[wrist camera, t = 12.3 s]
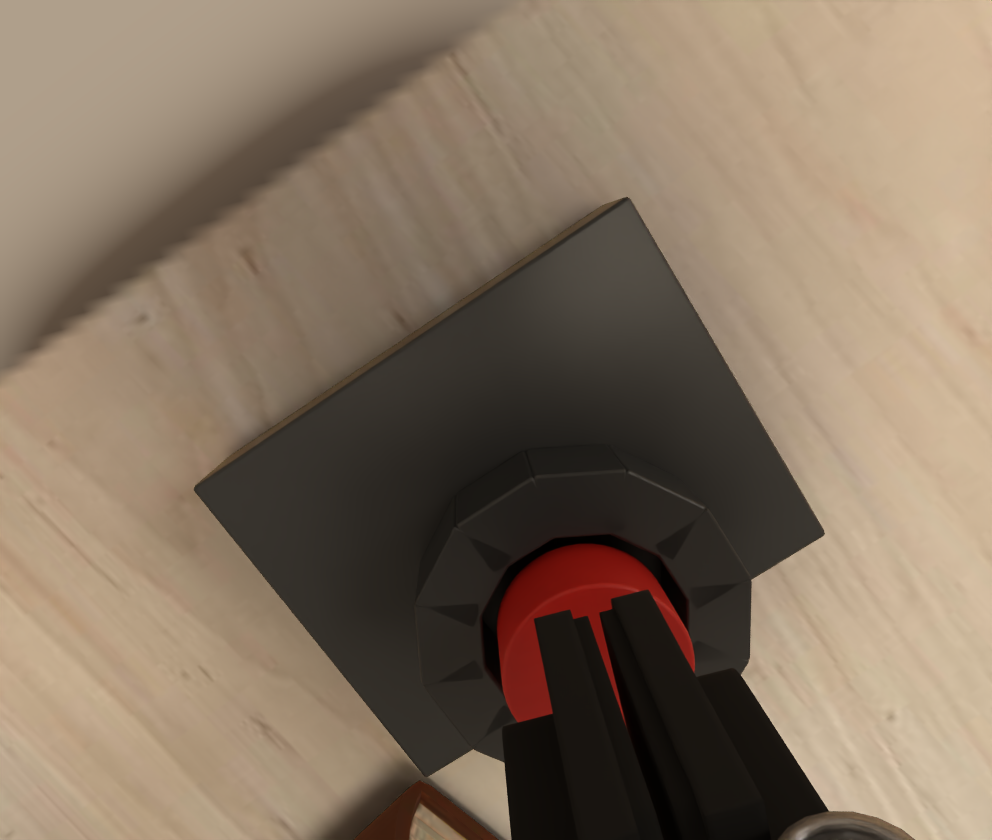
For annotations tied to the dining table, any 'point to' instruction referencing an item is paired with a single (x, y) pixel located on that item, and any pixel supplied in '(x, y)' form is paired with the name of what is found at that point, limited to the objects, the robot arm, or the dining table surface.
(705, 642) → the button box
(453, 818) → the book
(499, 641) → the button
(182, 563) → the dining table surface
